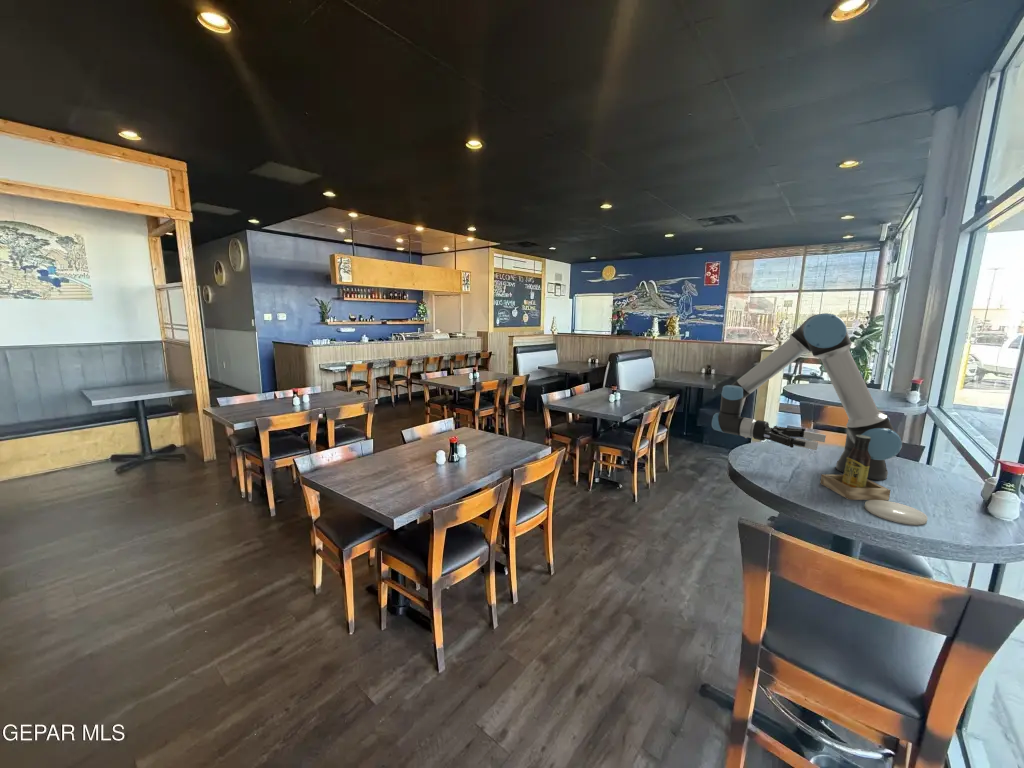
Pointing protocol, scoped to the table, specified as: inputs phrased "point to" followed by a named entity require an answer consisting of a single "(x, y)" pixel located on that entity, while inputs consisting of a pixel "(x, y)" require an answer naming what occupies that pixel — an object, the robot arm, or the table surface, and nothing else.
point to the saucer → (896, 512)
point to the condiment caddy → (855, 489)
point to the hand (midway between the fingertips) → (821, 442)
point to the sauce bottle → (857, 463)
